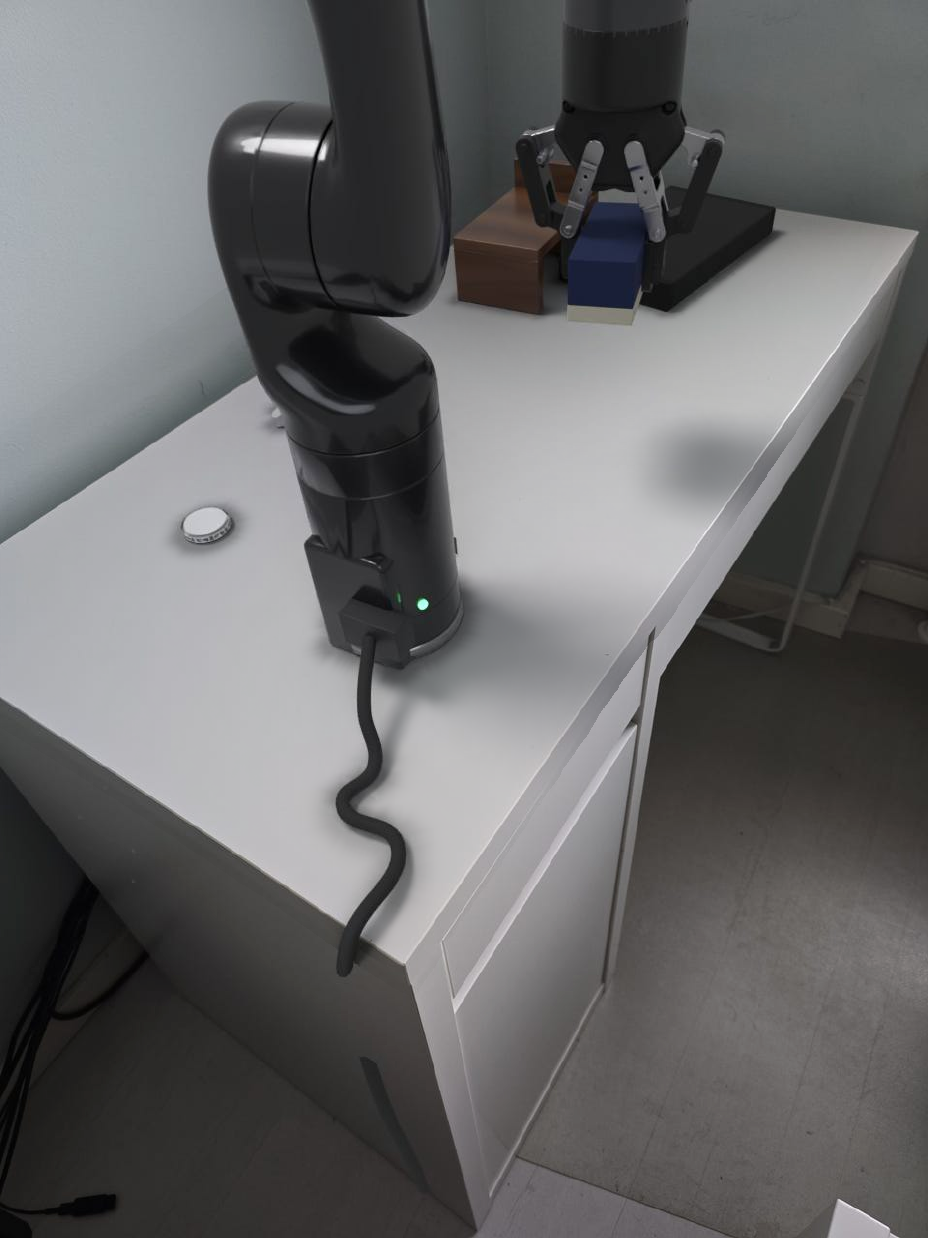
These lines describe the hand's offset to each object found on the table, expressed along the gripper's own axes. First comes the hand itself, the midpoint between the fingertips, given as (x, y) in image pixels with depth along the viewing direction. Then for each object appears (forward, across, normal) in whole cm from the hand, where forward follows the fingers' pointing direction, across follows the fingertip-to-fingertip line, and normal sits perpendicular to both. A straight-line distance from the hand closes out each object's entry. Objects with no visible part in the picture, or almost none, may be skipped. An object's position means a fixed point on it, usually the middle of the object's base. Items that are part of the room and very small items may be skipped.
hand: (611, 283), depth 64 cm
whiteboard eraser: (+1, 0, 0) cm, 1 cm away
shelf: (+15, -15, +33) cm, 39 cm away
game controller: (+16, -28, +4) cm, 32 cm away
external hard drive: (+15, 0, +40) cm, 43 cm away
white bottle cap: (+15, -30, -16) cm, 37 cm away
